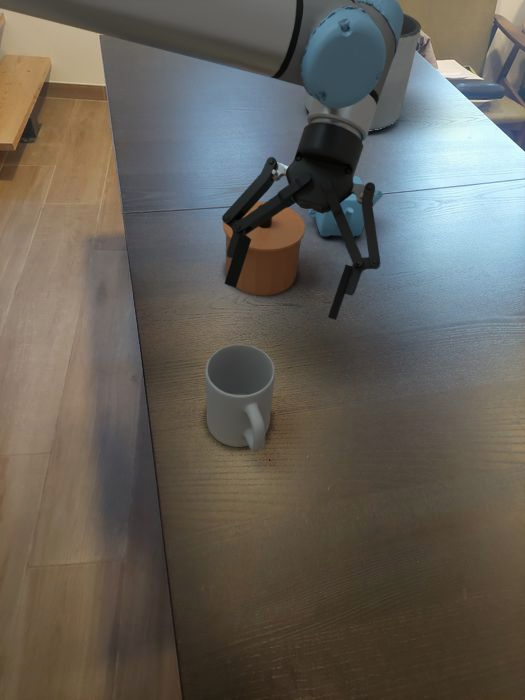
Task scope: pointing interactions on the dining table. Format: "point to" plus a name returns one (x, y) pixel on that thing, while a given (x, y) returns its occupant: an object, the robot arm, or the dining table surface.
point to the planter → (393, 77)
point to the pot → (267, 270)
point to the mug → (239, 395)
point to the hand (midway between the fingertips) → (279, 302)
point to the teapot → (351, 213)
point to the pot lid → (274, 231)
